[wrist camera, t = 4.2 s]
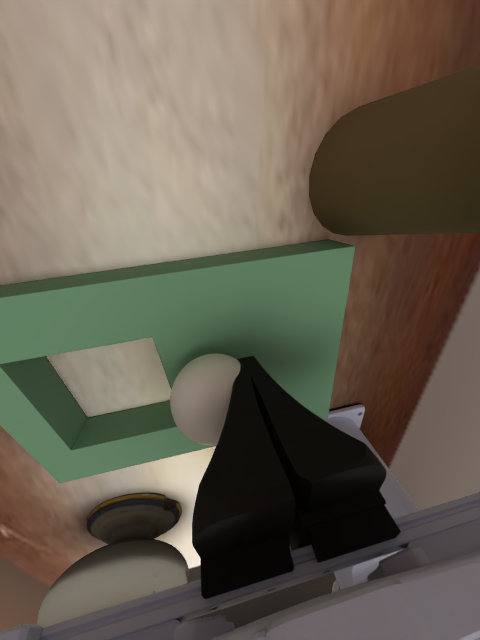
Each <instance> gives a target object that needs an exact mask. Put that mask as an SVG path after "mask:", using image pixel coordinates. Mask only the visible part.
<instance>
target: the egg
mask: <svg viewBox="0 0 480 640" xmlns="http://www.w3.org/2000/svg"><path fill="white" fill-rule="evenodd" d="M240 367H241V366H240V362H239V361H238V360H237V359H235V358H234V357H231V356H229V355H225V354H218V353H212V354H206V355H202V356H200V357H198V358H195V359H194V360H192V361H190V362H189V363H188V364H187V365H186V366H185V367H184V368H183V369H182V370H181V371H180V373H179V374H178V376H177V377H176V379H175V381H174V384H173V387H172V390H171V396H170V407H171V413H172V416H173V419H174V421H175V423H176V425H177V427H178V428H179V429H180V431H181V432H182V433H183V434H184V435H185V436H186V437H188V438H189V439H191V440H192V441H194V442H197V443H199V444H203V445H211V446H214V445H217V443H218V441H219V438H220V435H221V432H222V429H223V426H224V423H225V419H226V416H227V412H228V408H229V404H230V398H231V393H232V386H233V383H234V380H235V378H236V377H237V375H238V374H239V372H240Z"/></svg>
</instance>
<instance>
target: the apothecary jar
mask: <svg viewBox="0 0 480 640" xmlns="http://www.w3.org/2000/svg"><path fill="white" fill-rule="evenodd" d="M180 516H181V507H180V505H179V503H178V502H177V501H170V500H167V499H166V498H165V496H164V495H159V494H151V493H141V494H131V495H125V496H121V497H117V498H114V499H111V500H108V501H106V502H104V503H102V504H101V505H99V506H98V507H96V508H95V509H94V510H93V511H92V512H91V513H90V515H89V516H88V518H87V529H88V531H89V532H90V533H91V534H92V535H93V536H94V537H96V538H98V539H100V540H102V541H103V542H105V543H107V544H108V545H106V546H104V547H101V548H99V549H97V550H95V551H93V552H91V553H89V554H88V555H86V556H84V557H83V558H81V559H79V560H78V561H77V562H75V563H74V564H73V565H72V566H70V567H69V568H68V569H67V570H66V571H65V572H64V573H63V574H62V575H61V576H60V577H59V578H58V579H57V580H56V581H55V583H54V584H53V585H52V587H51V588H50V590H49V591H48V593H47V595H46V596H45V598H44V600H43V602H42V605H41V608H40V611H39V616H38V625H39V626H41V627H42V628H45V627H48V626H51V625H54V624H58V623H61V622H64V621H67V620H70V619H74V618H77V617H80V616H83V615H87V614H90V613H93V612H96V611H99V610H103V609H106V608H109V607H112V606H116V605H119V604H122V603H125V602H128V601H132V600H135V599H138V598H141V597H145V596H148V595H151V594H154V593H157V592H161V591H164V590H167V589H170V588H173V587H177V586H180V585H183V584H186V583H189V569H188V565H187V562H186V560H185V558H184V557H183V555H182V554H181V553H180V552H179V551H178V550H177V549H176V548H175V547H173V546H172V545H170V544H168V543H165V542H163V541H159V540H155V539H154V538H156V537H158V536H160V535H161V534H163V533H165V532H167V531H168V530H170V529H171V528H172V527H173V526H175V524H176V523H177V522H178V521H179V518H180Z"/></svg>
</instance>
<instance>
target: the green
mask: <svg viewBox="0 0 480 640" xmlns="http://www.w3.org/2000/svg"><path fill="white" fill-rule="evenodd" d="M354 251H355V246H353V245H349V244H345V243H341V242H337V241H333V240H323V241H316V242H308V243H301V244H294V245H287V246H280V247H273V248H266V249H258V250H251V251H244V252H237V253H230V254H223V255H216V256H209V257H201V258H194V259H187V260H180V261H173V262H166V263H159V264H151V265H144V266H137V267H130V268H123V269H116V270H109V271H102V272H94V273H87V274H80V275H73V276H66V277H59V278H52V279H44V280H37V281H30V282H23V283H16V284H9V285H2V286H0V426H2V427H3V428H4V429H5V430H6V431H7V432H8V433H9V434H10V435H11V436H12V437H13V438H14V439H15V440H16V441H17V442H18V443H19V444H20V445H21V446H22V447H23V448H24V449H25V450H26V451H27V452H28V453H29V454H30V455H31V456H32V457H33V458H34V459H35V460H36V461H37V462H38V463H39V464H41V465H42V466H43V467H44V468H45V469H46V470H47V471H48V472H49V473H50V474H51V475H52V476H53V477H54V478H55V479H56V480H57V481H58V482H59V483H63V482H67V481H71V480H76V479H80V478H84V477H88V476H92V475H97V474H101V473H105V472H109V471H113V470H117V469H122V468H126V467H130V466H134V465H138V464H142V463H147V462H151V461H155V460H159V459H163V458H167V457H172V456H176V455H180V454H184V453H188V452H192V451H197V450H201V449H205V448H209V447H213V446H211V445H203V444H199V443H197V442H194V441H192V440H191V439H189V438H188V437H186V436H185V435H184V434H183V433H182V432H181V431H180V429H179V428H178V427H177V425H176V423H175V421H174V419H173V416H172V413H171V407H170V401H167V402H162V403H157V404H153V405H148V406H143V407H138V408H134V409H129V410H124V411H119V412H115V413H110V414H105V415H100V416H96V417H91V418H87V417H86V415H85V414H84V412H83V411H82V409H81V408H80V406H79V405H78V404H77V402H76V401H75V399H74V398H73V396H72V395H71V393H70V392H69V391H68V389H67V388H66V386H65V385H64V383H63V382H62V380H61V379H60V377H59V376H58V375H57V373H56V372H55V370H54V369H53V367H52V366H51V364H50V363H49V362H48V360H47V359H46V357H45V356H49V355H54V354H60V353H66V352H71V351H77V350H82V349H88V348H94V347H99V346H105V345H111V344H116V343H122V342H128V341H133V340H139V339H145V338H150V337H153V340H154V342H155V345H156V348H157V351H158V354H159V356H160V359H161V362H162V365H163V368H164V370H165V373H166V376H167V379H168V381H169V384H170V387H171V390H172V387H173V384H174V381H175V379H176V377H177V376H178V374H179V373H180V371H181V370H182V369H183V368H184V367H185V366H186V365H187V364H188V363H189V362H190V361H192V360H194V359H195V358H198V357H200V356H202V355H206V354H212V353H218V354H225V355H229V356H231V357H234V358H235V359H239V358H244V357H249V356H254V357H255V358H256V359H257V361H258V362H259V363H260V364H261V366H262V367H263V368H264V369H265V370H266V372H267V373H268V374H269V375H270V376H271V377H272V378H273V379H274V380H275V381H276V382H277V383H278V384H279V385H280V386H281V387H282V388H283V389H284V390H285V391H286V392H287V393H288V394H290V395H291V396H292V397H293V398H294V399H295V400H297V401H298V402H299V403H300V404H302V405H303V406H304V407H306V408H307V409H308V410H310V411H311V412H313V413H314V414H316V415H317V416H319V417H320V418H322V419H323V420H326V419H328V415H329V409H330V403H331V396H332V390H333V384H334V377H335V371H336V365H337V358H338V352H339V346H340V340H341V333H342V327H343V321H344V314H345V308H346V302H347V295H348V289H349V283H350V276H351V270H352V264H353V258H354ZM214 446H217V445H214Z"/></svg>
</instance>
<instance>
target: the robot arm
mask: <svg viewBox="0 0 480 640" xmlns="http://www.w3.org/2000/svg"><path fill="white" fill-rule="evenodd" d="M237 360H238V361H239V362H240V366H241V367H240V372H239V374H238V375H237V377H236V378H235V380H234V383H233V386H232V393H231V398H230V404H229V408H228V412H227V416H226V419H225V423H224V426H223V429H222V432H221V435H220V438H219V441H218V443H217V446H216V448H215V451H214V453H213V456H212V458H211V461H210V463H209V465H208V467H207V470H206V472H205V474H204V476H203V478H202V480H201V482H200V485H199V489H198V493H197V497H196V502H195V507H194V513H193V522H192V543H193V547H194V548H195V550H196V551H197V553H198V555H199V556H200V558H201V579H200V580H196V581H193V582H190V583H186V584H183V585H180V586H177V587H173V588H170V589H167V590H164V591H161V592H157V593H154V594H151V595H148V596H145V597H141V598H138V599H135V600H132V601H128V602H125V603H122V604H119V605H116V606H112V607H109V608H106V609H103V610H99V611H96V612H93V613H90V614H87V615H83V616H80V617H77V618H74V619H70V620H67V621H64V622H61V623H58V624H54V625H51V626H48V627H45V628H42V627H41V626H39V625H35V624H28V625H21V626H17V627H14V628H10V629H7V630H4V631H0V640H480V492H479V493H477V494H473V495H470V496H466V497H463V498H460V499H457V500H454V501H450V502H447V503H444V504H441V505H438V506H434V507H431V508H428V509H425V510H422V511H419V510H418V508H417V507H416V505H415V504H414V503H413V501H412V500H411V499H410V497H409V496H408V494H407V493H406V492H405V490H404V489H403V488H402V486H401V485H400V484H399V482H398V481H397V479H396V478H395V477H394V475H393V474H392V473H391V471H390V470H389V469H388V467H387V466H386V464H385V463H384V462H383V460H382V459H381V458H380V456H379V455H378V454H377V452H376V451H375V449H374V448H373V447H372V445H371V444H370V443H369V441H368V440H367V439H366V437H365V436H364V435H363V433H362V432H361V430H360V426H361V422H362V419H363V415H364V411H365V407H364V406H363V405H361V404H360V405H355V406H351V407H347V408H342V409H338V410H334V411H330V412H329V415H328V419H326V420H323V419H322V418H320V417H319V416H317V415H316V414H314V413H313V412H311V411H310V410H308V409H307V408H306V407H304V406H303V405H302V404H300V403H299V402H298V401H297V400H295V399H294V398H293V397H292V396H291V395H290V394H288V393H287V392H286V391H285V390H284V389H283V388H282V387H281V386H280V385H279V384H278V383H277V382H276V381H275V380H274V379H273V378H272V377H271V376H270V375H269V374H268V373H267V372H266V370H265V369H264V368H263V367H262V366H261V364H260V363H259V362H258V361H257V359H256V358H255V357H254V356H249V357H244V358H239V359H237ZM290 546H291V550H292V551H290V548H289V547H290ZM332 572H334V574H335V576H336V579H337V580H336V581H335V582H334V584H333V590H332V591H333V592H332V593H329V594H326V595H323V596H320V597H318V598H315V599H312V600H309V601H306V602H304V603H301V604H298V605H296V606H293V607H290V608H287V609H285V610H282V611H280V612H277V613H275V614H272V615H270V616H267V617H265V618H262V619H259V620H257V621H254V622H252V623H249V624H247V625H245V626H242V627H240V628H237V629H234V624H233V623H232V622H226V617H225V616H224V615H223V614H221V615H216V616H211V617H206V618H201V619H196V620H192V621H188V622H185V623H182V622H184V621H187V620H190V619H193V618H196V617H199V616H202V615H205V614H208V613H211V612H214V611H217V610H220V609H223V608H226V607H229V606H232V605H235V604H238V603H241V602H245V601H247V600H250V599H253V598H257V597H259V596H263V595H265V594H269V593H272V592H275V591H277V590H281V589H284V588H287V587H289V586H293V585H296V584H299V583H302V582H305V581H308V580H311V579H314V578H317V577H320V576H323V575H326V574H329V573H332Z"/></svg>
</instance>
